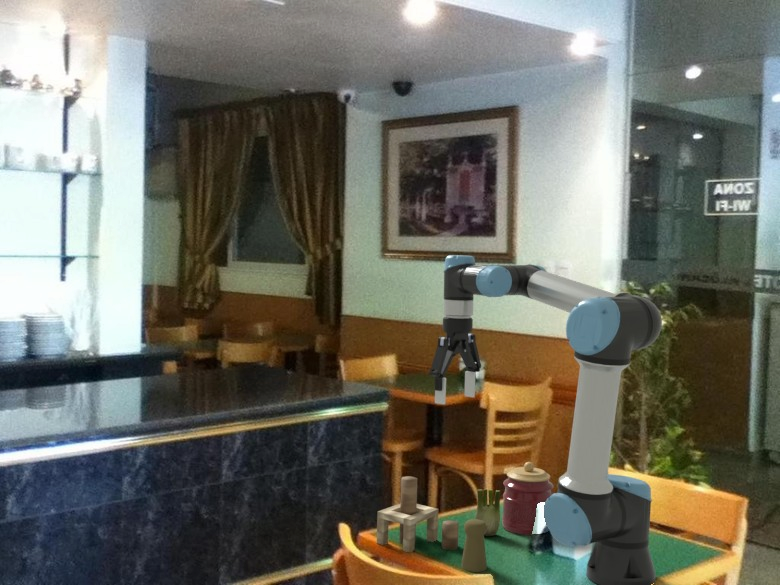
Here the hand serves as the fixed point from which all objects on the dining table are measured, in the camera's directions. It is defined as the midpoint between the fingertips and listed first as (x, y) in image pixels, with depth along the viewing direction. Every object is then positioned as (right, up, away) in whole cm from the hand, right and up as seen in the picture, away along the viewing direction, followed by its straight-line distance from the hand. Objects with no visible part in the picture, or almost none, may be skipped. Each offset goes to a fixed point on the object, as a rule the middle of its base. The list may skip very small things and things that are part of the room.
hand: (455, 400), depth 241 cm
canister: (+19, -35, +9) cm, 41 cm away
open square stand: (-12, -35, -4) cm, 37 cm away
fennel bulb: (+8, -35, +3) cm, 36 cm away
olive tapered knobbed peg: (+3, -37, -21) cm, 42 cm away
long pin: (-12, -35, -4) cm, 37 cm away
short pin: (-2, -35, -7) cm, 36 cm away
